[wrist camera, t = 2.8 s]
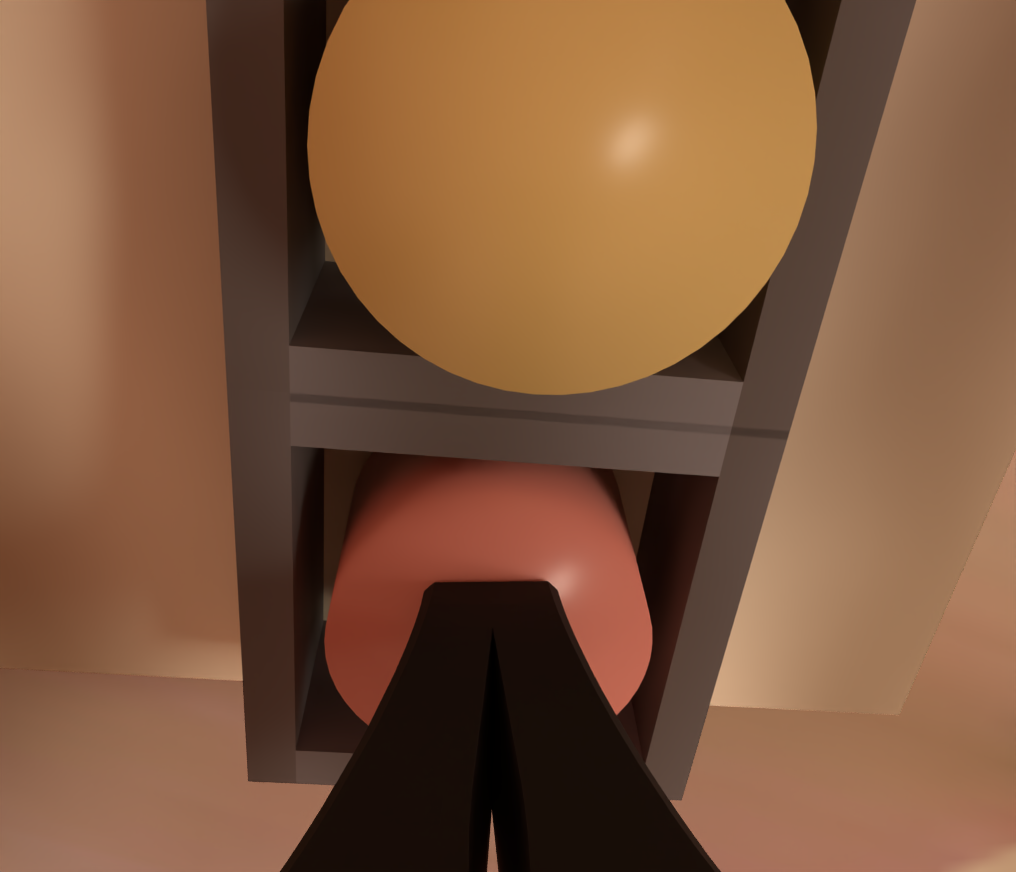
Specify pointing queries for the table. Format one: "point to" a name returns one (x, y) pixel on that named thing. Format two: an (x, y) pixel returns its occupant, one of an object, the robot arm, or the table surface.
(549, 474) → the brick button
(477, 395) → the button board
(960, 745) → the table surface
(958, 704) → the table surface
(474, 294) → the ochre button
